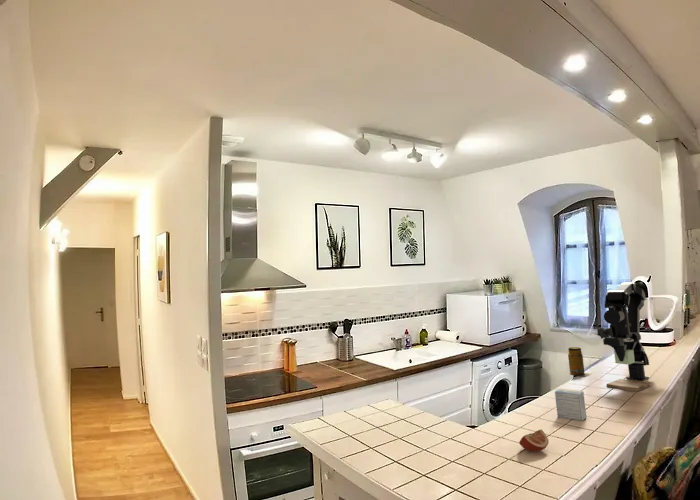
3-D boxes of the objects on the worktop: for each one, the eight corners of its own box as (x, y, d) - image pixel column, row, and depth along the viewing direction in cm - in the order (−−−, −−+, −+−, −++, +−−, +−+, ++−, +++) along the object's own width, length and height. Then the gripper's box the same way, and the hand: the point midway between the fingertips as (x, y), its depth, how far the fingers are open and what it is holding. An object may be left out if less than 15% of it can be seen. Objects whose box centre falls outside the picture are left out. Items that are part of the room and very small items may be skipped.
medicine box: (587, 417, 143) (583, 390, 143) (583, 421, 140) (579, 393, 140) (561, 414, 148) (558, 388, 149) (557, 417, 145) (554, 391, 146)
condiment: (573, 371, 206) (570, 346, 207) (592, 373, 200) (589, 347, 200) (566, 374, 201) (563, 348, 202) (585, 377, 195) (582, 349, 196)
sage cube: (621, 361, 179) (620, 348, 179) (634, 362, 175) (633, 349, 175) (615, 363, 176) (614, 350, 177) (628, 364, 172) (627, 351, 172)
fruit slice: (533, 443, 125) (531, 425, 125) (555, 450, 119) (553, 431, 120) (515, 451, 120) (513, 433, 121) (536, 458, 115) (535, 439, 115)
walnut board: (620, 381, 182) (619, 379, 182) (649, 386, 173) (649, 383, 173) (606, 387, 176) (606, 384, 176) (636, 391, 167) (635, 388, 167)
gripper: (611, 318, 189) (615, 354, 187) (588, 323, 178) (592, 361, 177) (639, 319, 179) (644, 357, 178) (616, 324, 169) (621, 365, 168)
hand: (624, 360), depth 176 cm, fingers closed on sage cube, 5 cm apart
